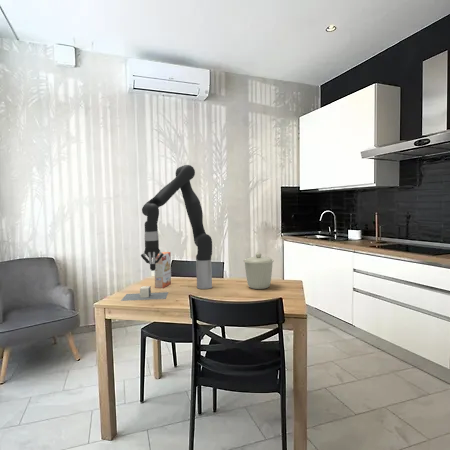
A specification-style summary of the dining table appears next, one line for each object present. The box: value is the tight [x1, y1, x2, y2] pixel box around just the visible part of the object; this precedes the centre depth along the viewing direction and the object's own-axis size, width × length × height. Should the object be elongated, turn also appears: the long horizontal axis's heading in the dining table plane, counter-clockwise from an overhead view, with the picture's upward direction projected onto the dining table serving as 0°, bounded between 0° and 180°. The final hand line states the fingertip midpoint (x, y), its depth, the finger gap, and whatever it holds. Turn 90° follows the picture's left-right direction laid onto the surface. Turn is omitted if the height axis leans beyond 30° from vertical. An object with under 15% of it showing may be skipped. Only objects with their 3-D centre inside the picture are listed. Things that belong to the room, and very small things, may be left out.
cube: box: [139, 285, 152, 298], centre depth 184 cm, size 5×5×5 cm
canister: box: [243, 252, 274, 290], centre depth 199 cm, size 18×18×21 cm
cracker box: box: [154, 251, 172, 289], centre depth 209 cm, size 14×6×21 cm, turn 168°
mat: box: [120, 291, 169, 302], centre depth 184 cm, size 24×14×1 cm, turn 94°
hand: (152, 270), depth 184 cm, fingers closed
